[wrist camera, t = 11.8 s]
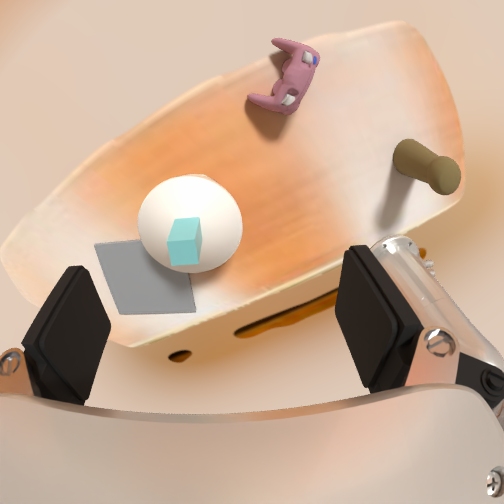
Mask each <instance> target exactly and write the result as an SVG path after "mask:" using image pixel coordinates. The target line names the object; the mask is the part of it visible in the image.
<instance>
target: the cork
mask: <svg viewBox="0 0 504 504" xmlns="http://www.w3.org/2000/svg"><path fill="white" fill-rule="evenodd" d="M393 161H394V166H395V167H396V169H397V171H399V172H400V173H401V174H404V175H406V176H409V177H412V178H415V179H418V180H420V181H423V182H426V183H428V184H429V185H430V187H431V188H432V189H433V190H434V191H435V192H436V193H438V194H441V195H449V194H452V193H453V192H454V191H456V189H457V188H458V186H459V184H460V180H461V172H460V169H459V166H458V165H457V163H456V162H455V161H454V160H453V159H451V158H449V157H444V156H438V155H436V154H435V153H433V152H432V151H430V150H429V149H428V148H426V147H425V146H423V145H421V144H420V143H418V142H417V141H415V140H413V139H405V140H402V141H401V142H400V143H399V144H398V145H397V147H396V148H395V151H394V154H393Z"/></svg>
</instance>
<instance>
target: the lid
mask: <svg viewBox="0 0 504 504" xmlns="http://www.w3.org/2000/svg"><path fill="white" fill-rule="evenodd" d="M138 232H139V236H140V239H141V241H142V244H143V245H144V247H145V249H146V250H147V252H148V253H149V254H150V255H151V256H152V257H153V258H154V259H155V260H156V261H158V262H159V263H160V264H162V265H164V266H165V267H168V268H170V269H172V270H175V271H179V272H184V273H200V272H205V271H209V270H212V269H215V268H217V267H219V266H220V265H222V264H223V263H225V262H226V261H227V260H228V259H229V258H230V257H231V256H232V255H233V254H234V252H235V251H236V249H237V247H238V245H239V243H240V240H241V236H242V218H241V213H240V209H239V207H238V205H237V203H236V201H235V199H234V198H233V196H232V195H231V194H230V193H229V192H228V191H227V190H226V189H225V188H224V187H223V186H221V185H220V184H218V183H217V182H215V181H213V180H211V179H208V178H205V177H201V176H195V175H182V176H176V177H173V178H170V179H167V180H165V181H163V182H161V183H160V184H158V185H157V186H156V187H155V188H154V189H152V191H151V192H150V193H149V194H148V195H147V197H146V198H145V200H144V202H143V203H142V205H141V208H140V211H139V214H138Z"/></svg>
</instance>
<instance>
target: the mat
mask: <svg viewBox="0 0 504 504" xmlns="http://www.w3.org/2000/svg"><path fill="white" fill-rule="evenodd" d="M94 247H95V250H96V253H97V256H98V259H99V262H100V265H101V267H102V270H103V273H104V276H105V278H106V281H107V284H108V286H109V289H110V292H111V294H112V297H113V299H114V302H115V304H116V306H117V309H118V311H119V314H156V313H183V312H196V307H195V302H194V298H193V293H192V288H191V283H190V278H189V273H184V272H179V271H175V270H172V269H170V268H168V267H165V266H164V265H162V264H160V263H159V262H158V261H156V260H155V259H154V258H153V257H152V256H151V255H150V254H149V253H148V252H147V250H146V249H145V247H144V245H143V244H142V241H141V240H131V241H120V242H110V243H100V244H95V245H94Z"/></svg>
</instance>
